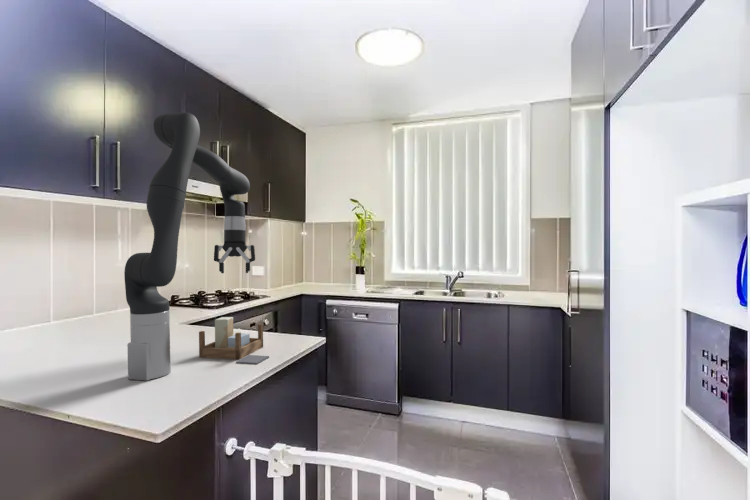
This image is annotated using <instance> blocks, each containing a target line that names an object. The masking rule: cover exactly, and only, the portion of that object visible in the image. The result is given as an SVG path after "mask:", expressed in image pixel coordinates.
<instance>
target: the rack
mask: <svg viewBox="0 0 750 500" xmlns="http://www.w3.org/2000/svg"><path fill="white" fill-rule="evenodd" d="M205 333H206V332H205V331H204V330H200V331H198V353H199V354H198V356H199V357H198V358H207V359H208V358H209V359H221V360H222V359H224V360H225V359H226V360H237V361H238V360H240V359H242V358H244V357H246V356H248V355H252V354H254V352H256V351H258V350H260V349H263V348H264V323H258V324H257V337H250V342H251V343H250V344H248V345H246V346H243V347H241V333H242V332H235V334H234V335H235V349H229V348H215V341H213V342H210V343H208V344H206V334H205Z"/></svg>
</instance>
